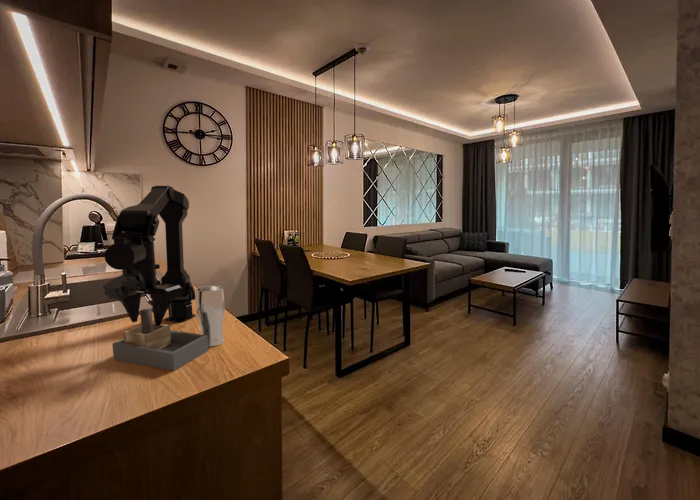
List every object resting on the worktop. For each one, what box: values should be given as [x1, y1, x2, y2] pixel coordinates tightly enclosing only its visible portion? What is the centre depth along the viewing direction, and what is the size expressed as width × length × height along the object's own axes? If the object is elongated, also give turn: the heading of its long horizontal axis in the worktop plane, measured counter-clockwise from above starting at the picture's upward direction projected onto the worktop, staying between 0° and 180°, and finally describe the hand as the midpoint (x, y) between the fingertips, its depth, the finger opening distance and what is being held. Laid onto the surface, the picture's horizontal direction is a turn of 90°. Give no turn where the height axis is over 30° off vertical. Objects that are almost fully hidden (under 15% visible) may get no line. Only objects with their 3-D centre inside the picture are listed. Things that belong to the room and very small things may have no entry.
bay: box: [112, 329, 209, 372], centre depth 82 cm, size 18×11×4 cm, turn 73°
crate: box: [123, 308, 171, 349], centre depth 83 cm, size 7×7×10 cm
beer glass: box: [195, 284, 226, 348], centre depth 89 cm, size 7×7×15 cm
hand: (146, 323), depth 83 cm, fingers open, 7 cm apart
